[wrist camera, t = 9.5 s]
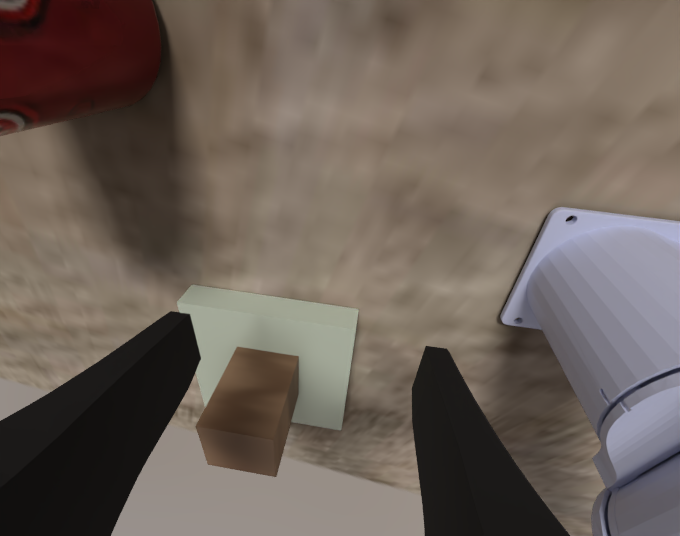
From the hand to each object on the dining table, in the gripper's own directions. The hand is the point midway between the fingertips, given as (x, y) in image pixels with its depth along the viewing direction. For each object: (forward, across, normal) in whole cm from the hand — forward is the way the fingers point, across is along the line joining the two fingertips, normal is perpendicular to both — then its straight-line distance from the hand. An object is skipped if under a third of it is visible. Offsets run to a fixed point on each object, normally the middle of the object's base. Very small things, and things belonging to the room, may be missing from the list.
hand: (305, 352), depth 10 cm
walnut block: (+8, +4, +13) cm, 16 cm away
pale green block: (+10, +4, +13) cm, 17 cm away
